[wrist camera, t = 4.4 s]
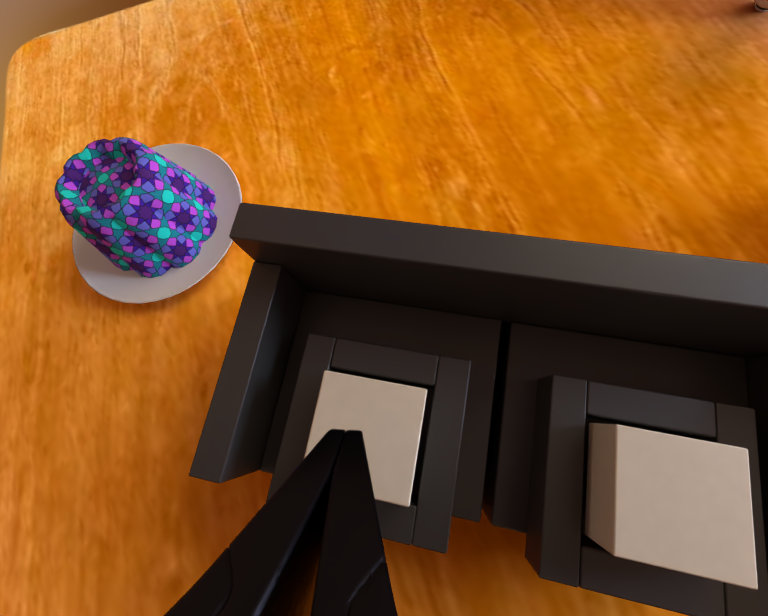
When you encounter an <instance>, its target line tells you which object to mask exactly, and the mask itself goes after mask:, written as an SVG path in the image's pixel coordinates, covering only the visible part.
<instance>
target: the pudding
mask: <svg viewBox="0 0 768 616" xmlns="http://www.w3.org/2000/svg"><path fill="white" fill-rule="evenodd" d="M55 196H56V198H57V200H58V202H59V203H60V211H61V212H62V214H63V216H64V218H65V219H66V221H67V222H68V223H69V224H70V225H71V226H72V227H73V228H74V231H73V237H72V242H73V255H74V259H75V264H76V266H77V268H78V270H79V272H80V274H81V276H82V277H83V279H84V280H85V281H86V282H87V284H88V285H89V286H90V287H91V288H93V289H94V290H95V291H96V292H98V293H99V294H101V295H103V296H105V297H107V298H109V299H111V300H116V301H120V302H124V303H140V304H141V303H148V302H155V301H159V300H162V299H166V298H169V297H172V296H174V295H176V294H178V293H180V292H182V291H185V290H187V289H188V288H190V287H191V286H193V285H194V284H196V283H197V282H199V281H200V280H202V279H203V278H204V277H205V276H206V275H207V274H208V273H209V272H210V271H211V270H212V269H214V268H215V266H216V265H217V264H218V263H219V261H220V260H221V259H222V258H223V257H224V255H225V254H226V252H227V250H228V249H229V247H230V245H231V244H232V242H233V240H232V239H231V238H230V237H229V234H230V231H231V228H232V225H233V222H234V219H235V216H236V213H237V210H238V207H239V204H240V203H242V196H241V190H240V185H239V183H238V180H237V178H236V176H235V173H234V172H233V171H232V169H231V168H230V166H229V165H228V164H227V163H226V162H225V161H224V160H223V159H222V158H221V157H220V156H218V155H217V154H215V153H213V152H211V151H210V150H208V149H205V148H202V147H199V146H196V145H189V144H166V145H160V146H155V147H152V148H149V147H147V146H146V145H144V144H142V143H140V142H138V141H136V140H134V139H131V138H124V137H119V138H115V139H113V140H111V141H109V140H106V139H101V140H97V141H93V142H92V143H90V144H88V145H87V146H86V147H85V149H84V150H83V151H82V152H81V153H77V154H74V155H73V156H72V157H71V158H69V159H68V160H67V162H66V164H65V165H64V174H63V175H62V176H61V177H60V178H59V179H58V180H57V183H56V186H55Z"/></svg>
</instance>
